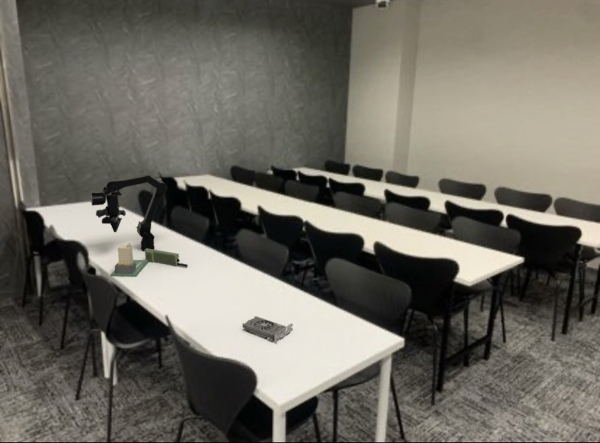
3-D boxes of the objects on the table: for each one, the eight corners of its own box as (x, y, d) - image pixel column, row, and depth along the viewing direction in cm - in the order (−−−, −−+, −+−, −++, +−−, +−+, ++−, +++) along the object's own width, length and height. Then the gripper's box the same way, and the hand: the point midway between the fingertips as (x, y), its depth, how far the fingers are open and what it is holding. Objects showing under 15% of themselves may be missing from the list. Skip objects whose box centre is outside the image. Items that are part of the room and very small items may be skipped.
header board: (125, 261, 236) (124, 249, 235) (148, 261, 237) (147, 250, 235) (110, 276, 217) (109, 263, 215) (136, 276, 217) (135, 263, 216)
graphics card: (295, 323, 171) (276, 335, 162) (295, 332, 172) (276, 345, 162) (259, 311, 180) (239, 322, 170) (259, 320, 181) (239, 332, 171)
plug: (123, 268, 224) (121, 242, 220) (133, 268, 224) (131, 242, 221) (119, 271, 219) (117, 245, 216) (130, 272, 219) (128, 246, 216)
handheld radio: (148, 259, 241) (189, 266, 232) (144, 261, 238) (185, 269, 229) (147, 247, 239) (188, 254, 230) (143, 249, 236) (184, 256, 227)
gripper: (104, 199, 249) (106, 227, 253) (90, 207, 231) (92, 237, 235) (125, 199, 249) (127, 227, 254) (112, 208, 231) (114, 237, 236)
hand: (115, 232), depth 244 cm, fingers closed
